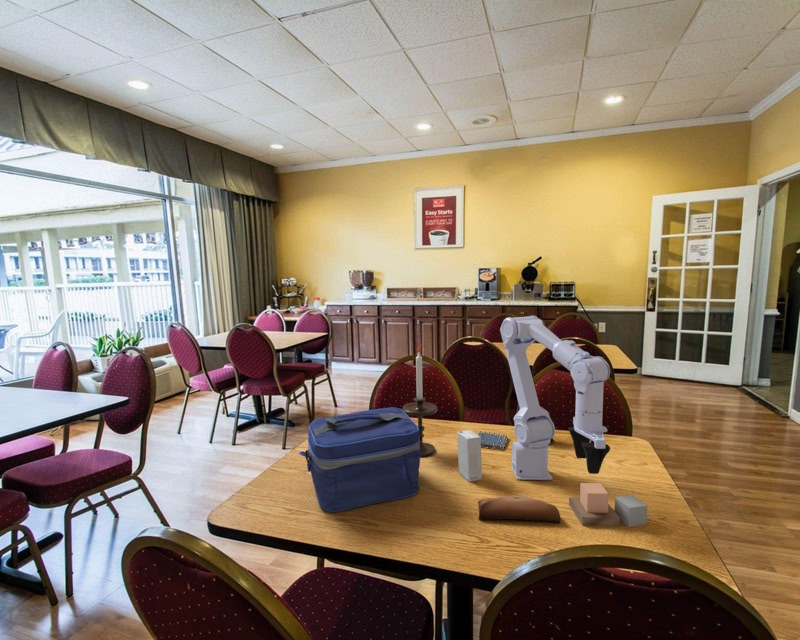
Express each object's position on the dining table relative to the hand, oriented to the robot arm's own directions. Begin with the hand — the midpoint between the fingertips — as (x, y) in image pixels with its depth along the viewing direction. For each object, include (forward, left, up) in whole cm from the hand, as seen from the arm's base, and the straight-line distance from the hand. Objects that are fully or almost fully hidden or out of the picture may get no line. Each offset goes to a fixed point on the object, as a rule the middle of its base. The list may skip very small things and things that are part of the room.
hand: (586, 465), depth 96 cm
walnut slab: (0, -4, -11) cm, 11 cm away
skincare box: (-26, +14, -11) cm, 31 cm away
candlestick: (-40, +30, -11) cm, 51 cm away
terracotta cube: (0, -3, -8) cm, 9 cm away
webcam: (0, +39, -11) cm, 40 cm away
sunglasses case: (-17, -3, -11) cm, 20 cm away
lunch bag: (-54, +8, -11) cm, 56 cm away
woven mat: (-17, +37, -11) cm, 42 cm away
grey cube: (+8, -5, -10) cm, 14 cm away
